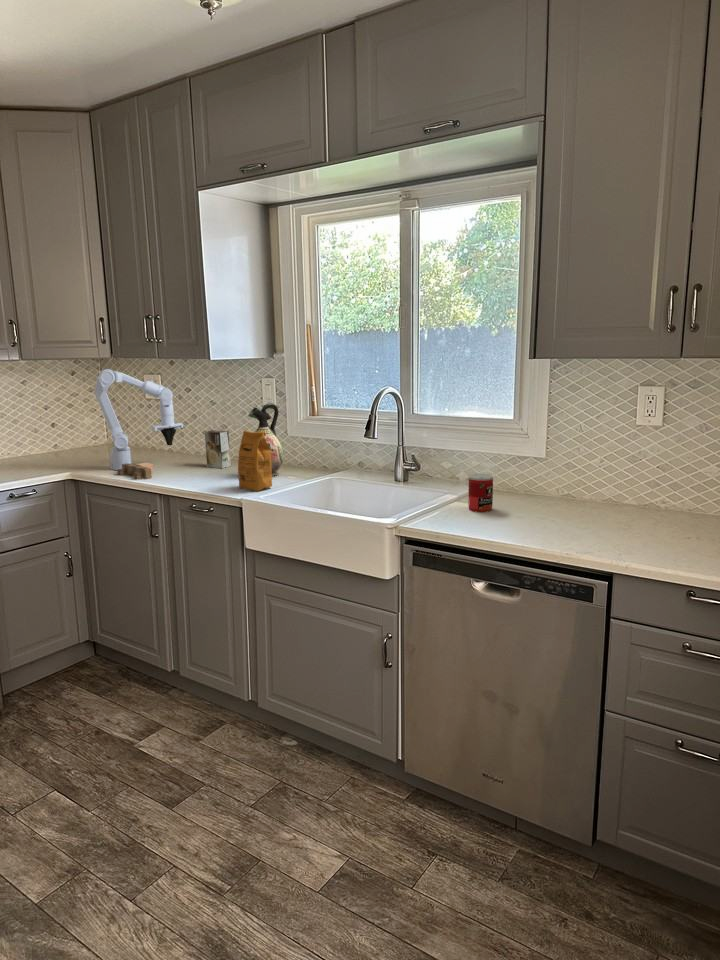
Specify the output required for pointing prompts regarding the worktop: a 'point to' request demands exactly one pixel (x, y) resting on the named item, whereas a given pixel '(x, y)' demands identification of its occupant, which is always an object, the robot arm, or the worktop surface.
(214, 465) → the coffee box
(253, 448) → the coffee package
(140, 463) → the terracotta block
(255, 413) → the ceramic jug
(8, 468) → the worktop surface
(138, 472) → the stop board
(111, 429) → the robot arm
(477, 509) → the canned food
